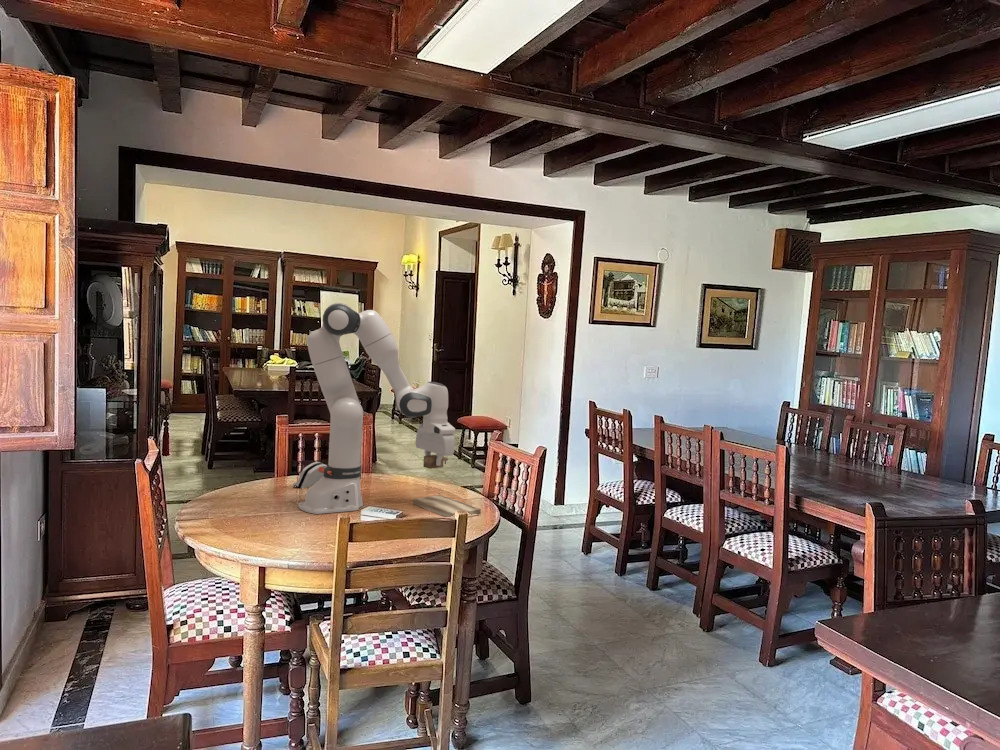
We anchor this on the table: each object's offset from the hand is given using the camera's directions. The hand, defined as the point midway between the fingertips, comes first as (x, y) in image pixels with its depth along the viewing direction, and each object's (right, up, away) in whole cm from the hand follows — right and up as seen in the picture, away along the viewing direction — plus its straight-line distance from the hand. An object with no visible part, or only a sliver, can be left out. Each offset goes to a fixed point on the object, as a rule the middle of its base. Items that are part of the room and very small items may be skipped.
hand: (433, 464), depth 247 cm
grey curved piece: (-51, -12, +23) cm, 57 cm away
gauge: (0, -1, 0) cm, 1 cm away
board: (+5, -16, -5) cm, 17 cm away
